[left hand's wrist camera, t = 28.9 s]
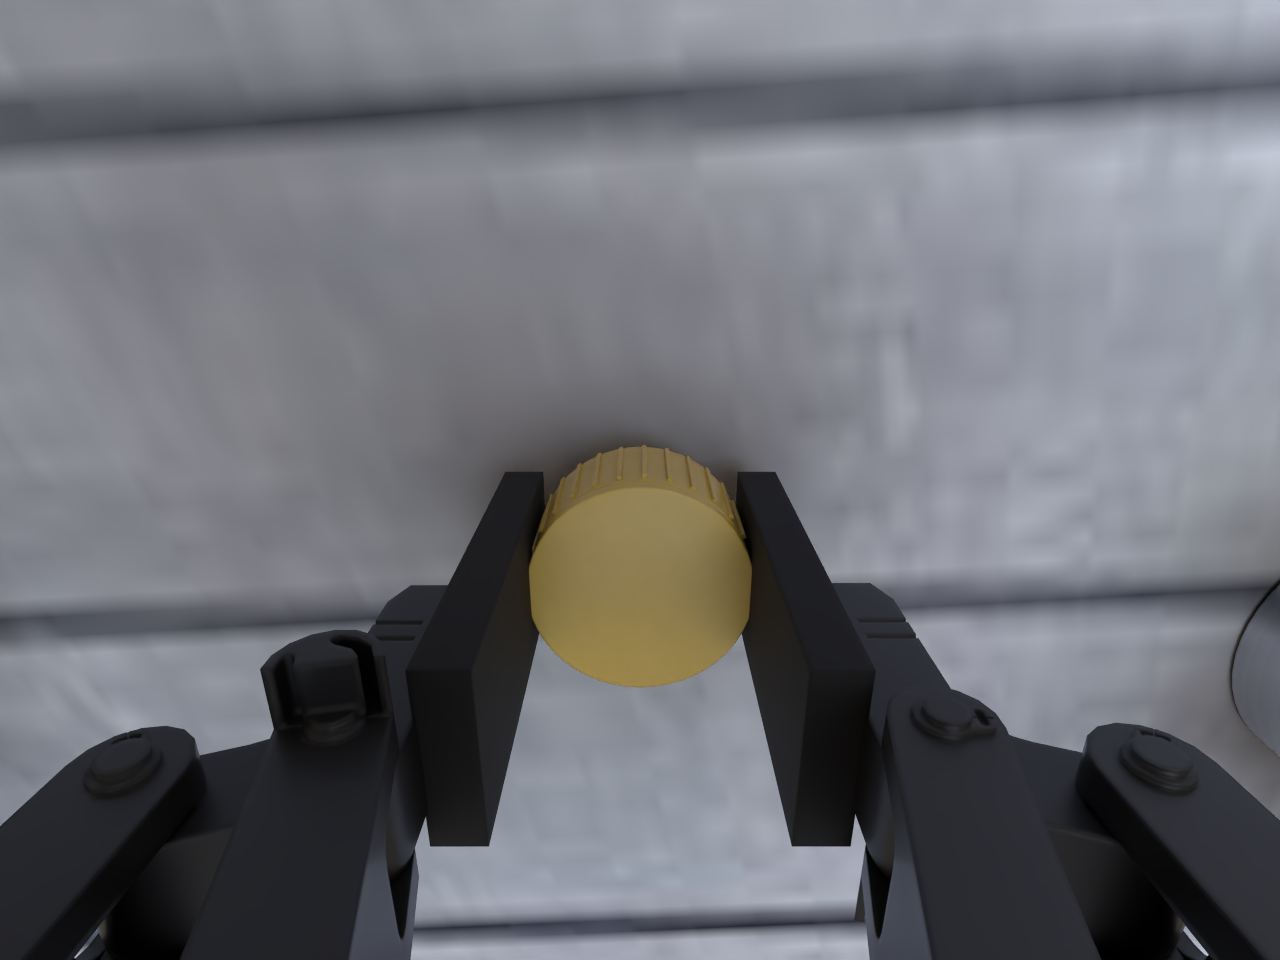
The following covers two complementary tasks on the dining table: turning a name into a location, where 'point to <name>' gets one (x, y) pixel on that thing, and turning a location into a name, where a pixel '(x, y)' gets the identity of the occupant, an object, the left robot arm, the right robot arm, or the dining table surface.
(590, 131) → the dining table surface
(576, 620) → the cap
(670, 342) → the dining table surface
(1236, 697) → the bottle
